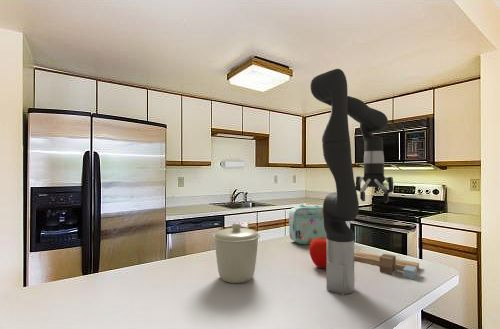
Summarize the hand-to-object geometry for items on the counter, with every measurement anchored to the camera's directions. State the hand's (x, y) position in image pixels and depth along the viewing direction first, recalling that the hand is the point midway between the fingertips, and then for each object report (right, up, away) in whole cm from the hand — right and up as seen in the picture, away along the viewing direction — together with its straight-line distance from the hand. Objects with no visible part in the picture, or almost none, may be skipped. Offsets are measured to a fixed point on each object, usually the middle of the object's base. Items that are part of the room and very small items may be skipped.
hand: (374, 202), depth 112 cm
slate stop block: (+11, -28, -6) cm, 31 cm away
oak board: (+8, -28, +8) cm, 30 cm away
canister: (-56, -28, -7) cm, 63 cm away
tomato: (-20, -29, +4) cm, 35 cm away
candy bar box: (-54, -29, +14) cm, 63 cm away
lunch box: (-16, -29, +44) cm, 55 cm away
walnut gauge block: (+5, -28, 0) cm, 29 cm away
